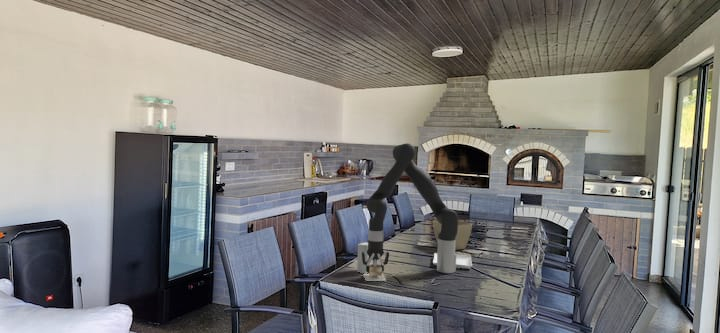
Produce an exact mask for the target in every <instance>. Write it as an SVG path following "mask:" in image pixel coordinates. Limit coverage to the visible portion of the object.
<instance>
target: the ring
mask: <svg viewBox="0 0 720 333" xmlns="http://www.w3.org/2000/svg"><path fill="white" fill-rule="evenodd" d="M368 274H369V276H382V274H383V272H382V267H381V263H377V267H373V264H369V273H368Z"/></svg>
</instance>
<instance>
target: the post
mask: <svg viewBox="0 0 720 333" xmlns="http://www.w3.org/2000/svg"><path fill="white" fill-rule="evenodd" d="M377 264H378V260H376V259H375V260H373V267H377ZM363 275H364V276H363ZM362 276H363V279H364V278H365V279H364V281H365V280H366V281H386V282H387V279H386V277H385V274H384V273H382V276H369V273H368V274H363V273H362ZM366 281H365V282H366Z"/></svg>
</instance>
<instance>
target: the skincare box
mask: <svg viewBox="0 0 720 333" xmlns="http://www.w3.org/2000/svg"><path fill="white" fill-rule="evenodd" d="M367 250H368V241H364V242H362V243H358V244H357V258H356V259H357V266H356V272H357V273H358V272H360V273H359V274H363V273H366V274H367V271H366V265H364V264H363V262H362V254H361V252H362V251H363V252H367ZM368 258H369V256H368V254H366V256H365V262H367V260H368ZM370 264H373V260H372V261H371V262H370Z"/></svg>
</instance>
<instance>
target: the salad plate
mask: <svg viewBox="0 0 720 333" xmlns="http://www.w3.org/2000/svg"><path fill="white" fill-rule="evenodd" d="M432 263H433V265H434V266H436V267H437V252H434V253H433V260H432ZM472 267H473V263H472V256H471V255H462V254H456V269H460V268H462V270H463V269H467V270H468V269H470V268H472Z"/></svg>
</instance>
